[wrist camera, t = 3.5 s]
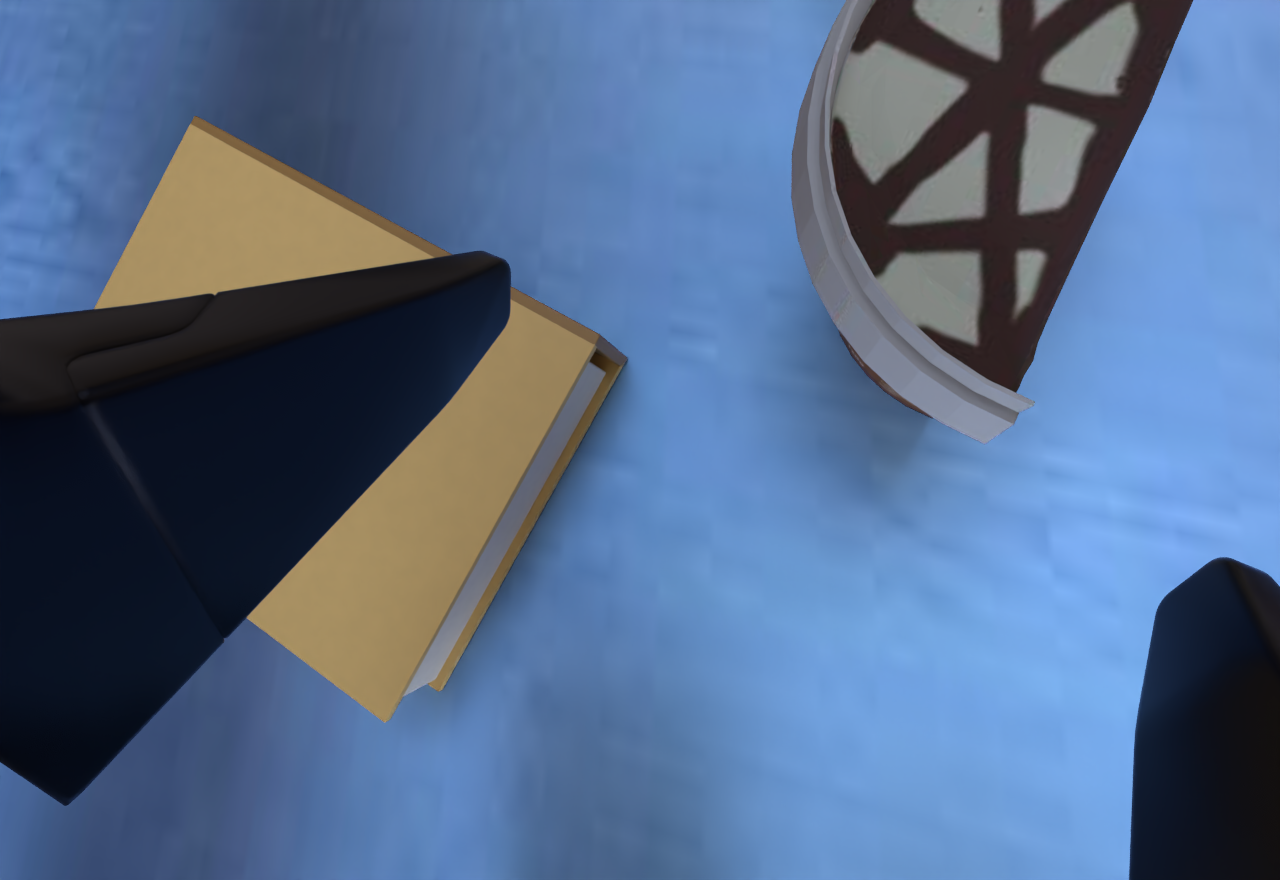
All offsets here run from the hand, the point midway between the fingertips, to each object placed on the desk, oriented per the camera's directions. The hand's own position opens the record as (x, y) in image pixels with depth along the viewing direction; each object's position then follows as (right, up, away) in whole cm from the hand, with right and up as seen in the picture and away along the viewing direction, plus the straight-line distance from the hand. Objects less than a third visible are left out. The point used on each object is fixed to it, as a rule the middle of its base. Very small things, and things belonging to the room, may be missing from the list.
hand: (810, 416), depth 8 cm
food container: (+6, +6, +13) cm, 16 cm away
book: (-13, +1, +17) cm, 21 cm away
